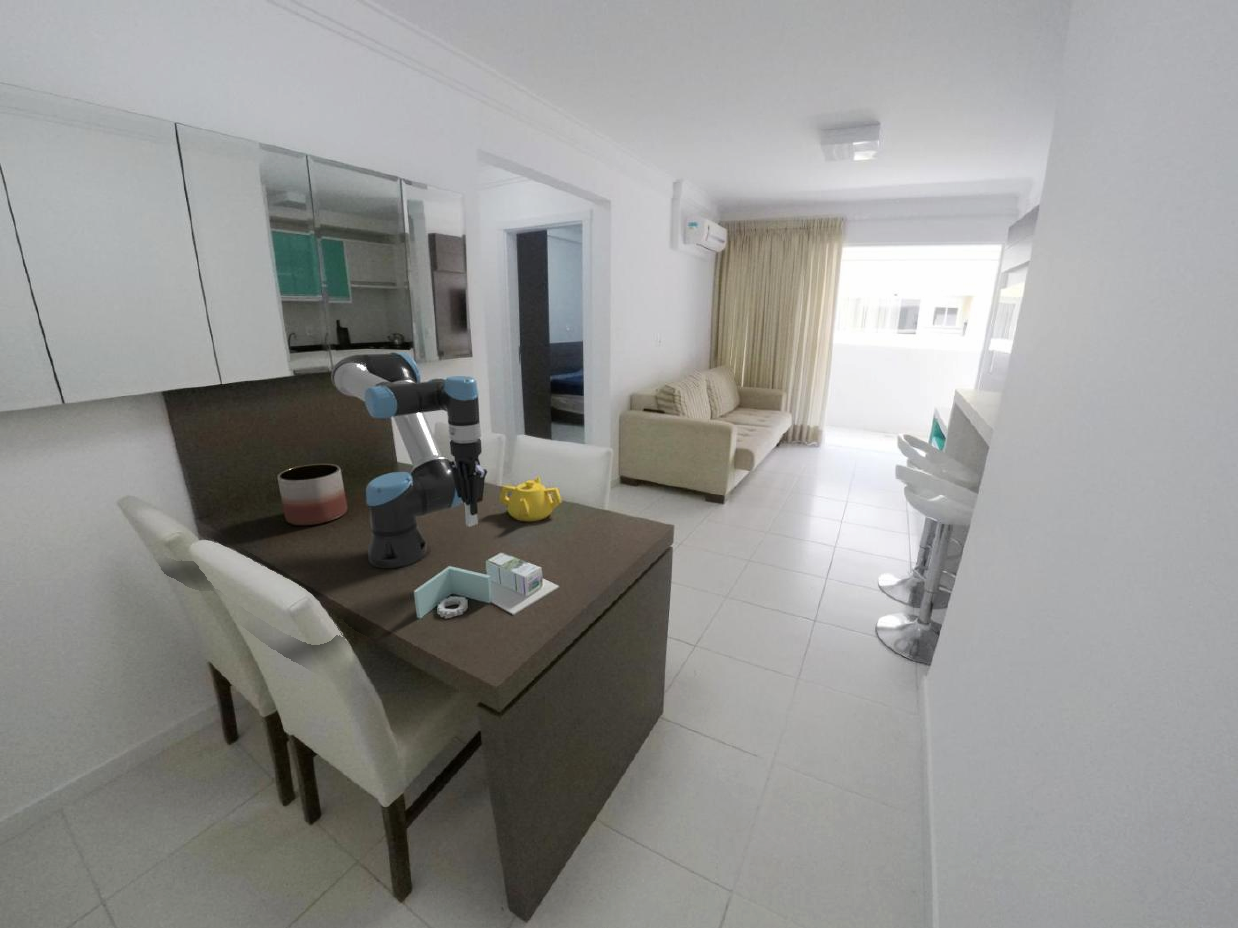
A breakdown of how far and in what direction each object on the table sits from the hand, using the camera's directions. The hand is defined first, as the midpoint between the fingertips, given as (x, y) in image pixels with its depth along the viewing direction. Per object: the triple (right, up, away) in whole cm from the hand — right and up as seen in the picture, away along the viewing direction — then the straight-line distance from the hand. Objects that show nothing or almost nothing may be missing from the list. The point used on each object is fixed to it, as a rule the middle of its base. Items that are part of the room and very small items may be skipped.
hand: (472, 524), depth 128 cm
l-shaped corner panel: (+1, -19, -15) cm, 24 cm away
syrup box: (+6, -10, -2) cm, 12 cm away
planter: (-62, -2, +33) cm, 70 cm away
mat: (+13, -16, -6) cm, 21 cm away
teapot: (+9, -1, +38) cm, 39 cm away
